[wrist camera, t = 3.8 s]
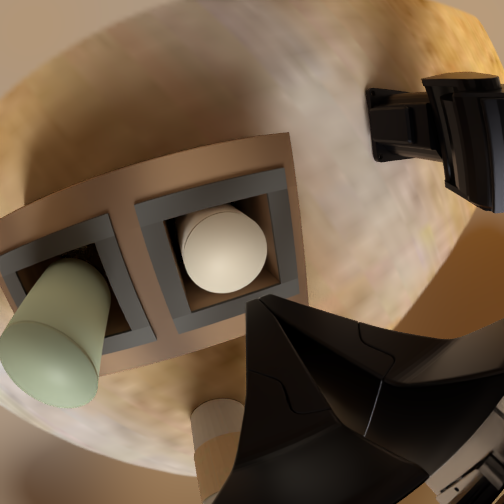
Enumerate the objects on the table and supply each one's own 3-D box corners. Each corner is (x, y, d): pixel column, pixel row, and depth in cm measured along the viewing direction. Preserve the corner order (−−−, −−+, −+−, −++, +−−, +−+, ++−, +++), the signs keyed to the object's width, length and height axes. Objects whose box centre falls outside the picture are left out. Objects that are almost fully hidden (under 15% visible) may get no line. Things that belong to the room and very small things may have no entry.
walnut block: (247, 137, 17) (290, 132, 12) (270, 270, 21) (310, 312, 16) (23, 206, 13) (-23, 232, 8) (76, 329, 17) (60, 386, 12)
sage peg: (93, 247, 11) (59, 311, 6) (122, 318, 13) (117, 400, 8) (29, 270, 10) (-20, 335, 5) (62, 334, 12) (39, 411, 7)
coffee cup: (173, 438, 25) (207, 552, 12) (175, 387, 22) (218, 540, 9) (250, 431, 29) (301, 529, 15) (268, 381, 26) (343, 501, 13)
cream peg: (228, 187, 17) (260, 203, 12) (240, 244, 19) (272, 278, 14) (168, 203, 16) (173, 226, 12) (183, 260, 18) (196, 303, 13)
